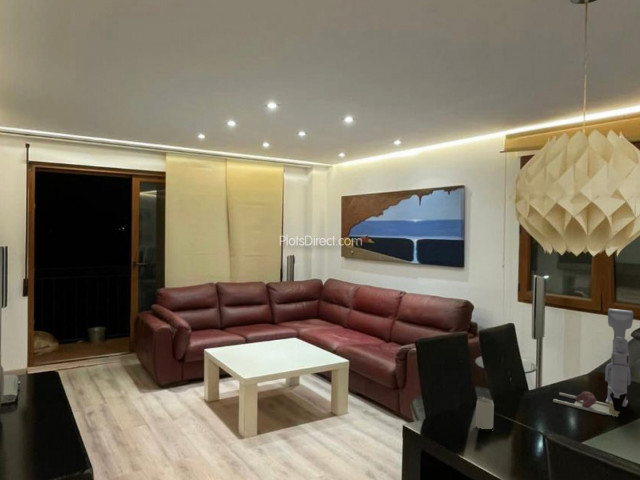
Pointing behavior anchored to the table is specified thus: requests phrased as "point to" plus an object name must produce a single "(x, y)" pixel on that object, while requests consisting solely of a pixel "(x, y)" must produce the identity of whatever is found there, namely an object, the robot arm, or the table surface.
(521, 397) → the table surface
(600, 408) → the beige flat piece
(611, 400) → the robot arm
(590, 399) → the purple lumpy piece
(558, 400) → the aluminium rails
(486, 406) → the can
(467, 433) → the table surface
